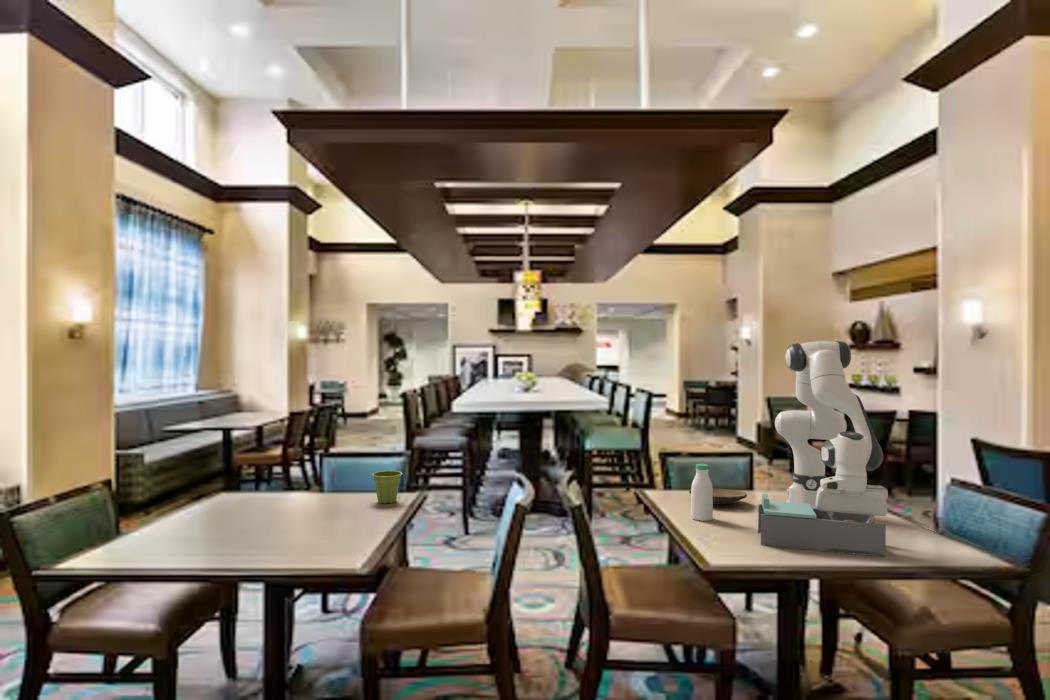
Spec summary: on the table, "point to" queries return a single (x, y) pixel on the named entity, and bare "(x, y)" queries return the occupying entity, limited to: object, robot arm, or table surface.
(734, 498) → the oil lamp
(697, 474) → the milk bottle
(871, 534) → the housing
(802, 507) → the lid
